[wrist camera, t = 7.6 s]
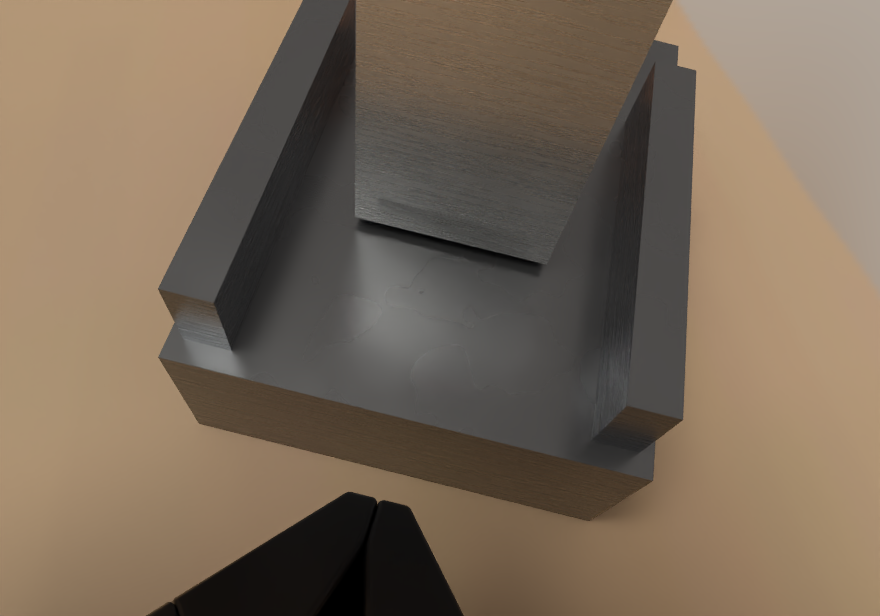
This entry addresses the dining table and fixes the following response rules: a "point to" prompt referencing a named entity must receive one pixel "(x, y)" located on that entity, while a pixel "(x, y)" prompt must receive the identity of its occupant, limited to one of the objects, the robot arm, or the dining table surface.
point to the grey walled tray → (437, 300)
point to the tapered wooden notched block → (490, 112)
